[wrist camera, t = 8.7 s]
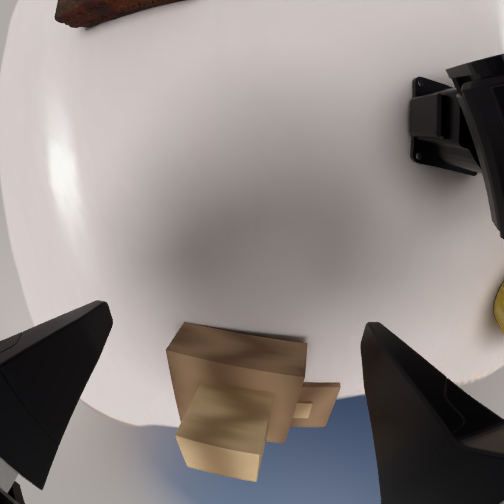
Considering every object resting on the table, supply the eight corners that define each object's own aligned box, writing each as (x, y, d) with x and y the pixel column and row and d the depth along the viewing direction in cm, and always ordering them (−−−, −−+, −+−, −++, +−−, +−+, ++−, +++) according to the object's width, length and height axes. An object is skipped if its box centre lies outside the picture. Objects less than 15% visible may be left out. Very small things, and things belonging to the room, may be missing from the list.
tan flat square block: (307, 343, 23) (304, 377, 19) (288, 414, 27) (284, 443, 24) (184, 322, 25) (165, 349, 21) (192, 395, 29) (180, 421, 25)
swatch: (339, 382, 26) (340, 389, 25) (324, 423, 29) (325, 428, 28) (262, 380, 27) (261, 386, 26) (259, 420, 30) (258, 426, 29)
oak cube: (273, 392, 21) (259, 454, 15) (268, 429, 23) (256, 481, 18) (201, 379, 22) (175, 435, 16) (207, 417, 24) (187, 466, 19)
